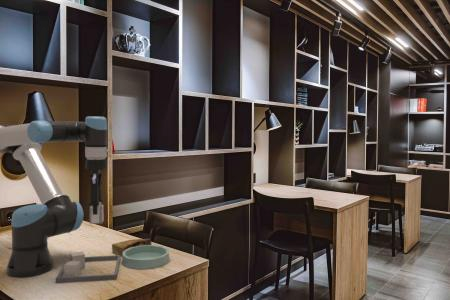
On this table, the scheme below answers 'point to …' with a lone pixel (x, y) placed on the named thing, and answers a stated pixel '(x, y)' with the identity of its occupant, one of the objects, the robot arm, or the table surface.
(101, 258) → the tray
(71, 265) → the light grey block
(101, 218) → the grey square pillar
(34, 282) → the table surface
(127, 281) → the table surface
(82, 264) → the pale grey block
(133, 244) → the stone
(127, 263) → the bowl
